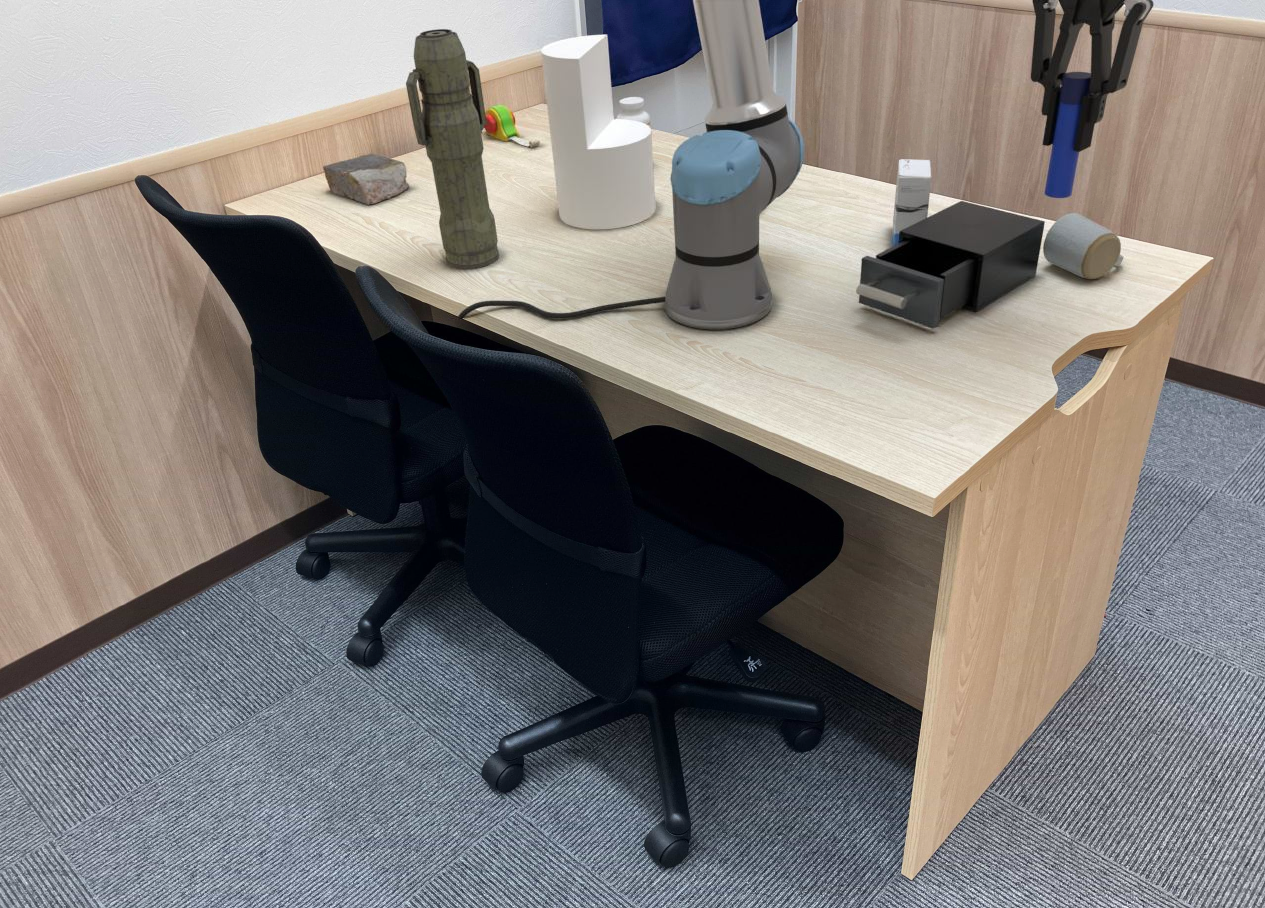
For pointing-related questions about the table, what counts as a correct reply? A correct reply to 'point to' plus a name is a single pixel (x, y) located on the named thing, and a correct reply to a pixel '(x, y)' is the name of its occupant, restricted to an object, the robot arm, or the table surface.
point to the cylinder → (594, 140)
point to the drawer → (918, 281)
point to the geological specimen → (367, 178)
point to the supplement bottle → (633, 110)
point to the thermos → (454, 145)
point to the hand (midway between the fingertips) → (1066, 145)
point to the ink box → (911, 194)
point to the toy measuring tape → (504, 126)
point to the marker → (1066, 135)
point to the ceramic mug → (1082, 247)
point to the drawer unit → (985, 245)
